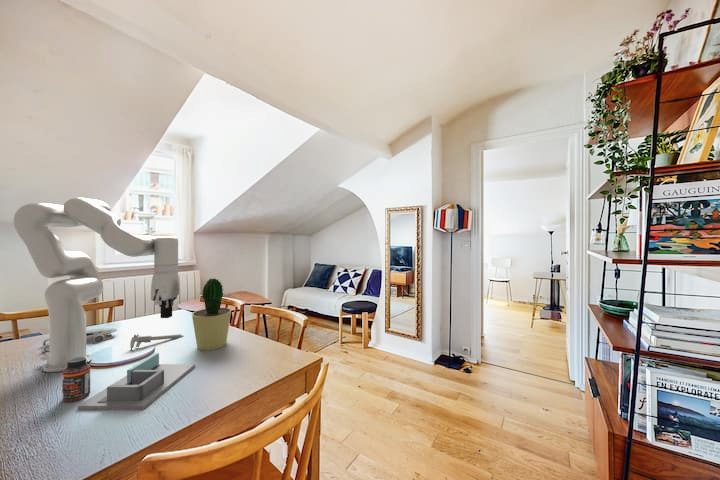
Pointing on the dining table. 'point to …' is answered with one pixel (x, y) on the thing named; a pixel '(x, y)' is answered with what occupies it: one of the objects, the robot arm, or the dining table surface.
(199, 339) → the potted cactus
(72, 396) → the supplement bottle
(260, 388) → the dining table surface
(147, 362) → the bar
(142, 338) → the caliper
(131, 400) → the housing
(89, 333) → the car model
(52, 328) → the robot arm
